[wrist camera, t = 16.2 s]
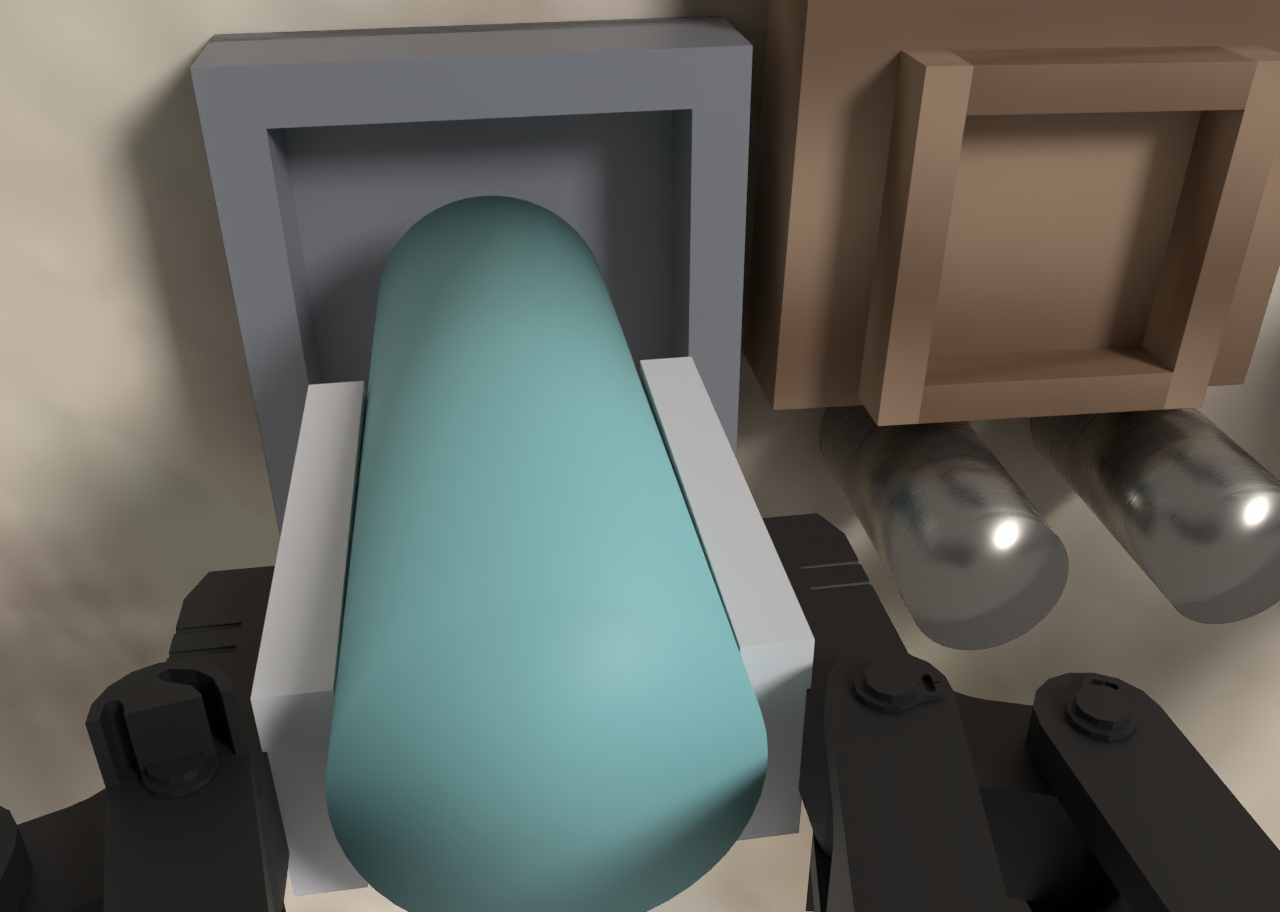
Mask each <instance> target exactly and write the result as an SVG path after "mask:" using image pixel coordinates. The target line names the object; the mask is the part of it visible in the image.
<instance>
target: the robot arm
mask: <svg viewBox="0 0 1280 912" xmlns="http://www.w3.org/2000/svg"><path fill="white" fill-rule="evenodd" d="M640 381H641V383H642V386H643V389H644V392H645V394H646V397H647V400H648V402H649V405H650V408H651V411H652V413H653V416H654V419H655V422H656V424H657V427H658V430H659V433H660V435H661V438H662V441H663V444H664V446H665V449H666V452H667V455H668V457H669V460H670V463H671V466H672V468H673V471H674V474H675V476H676V479H677V482H678V485H679V487H680V490H681V493H682V496H683V498H684V501H685V504H686V507H687V509H688V512H689V515H690V518H691V520H692V523H693V526H694V529H695V531H696V534H697V537H698V540H699V542H700V545H701V548H702V550H703V553H704V556H705V559H706V561H707V564H708V567H709V570H710V572H711V575H712V578H713V581H714V583H715V586H716V589H717V592H718V594H719V597H720V600H721V603H722V605H723V608H724V611H725V614H726V616H727V619H728V622H729V624H730V627H731V630H732V633H733V635H734V638H735V641H736V644H737V646H738V649H739V652H740V655H741V657H742V660H743V663H744V666H745V668H746V671H747V674H748V677H749V679H750V682H751V685H752V688H753V690H754V693H755V696H756V699H757V701H758V704H759V707H760V709H761V713H762V717H763V721H764V725H765V728H766V734H767V747H768V759H767V770H766V777H765V781H764V785H763V789H762V792H761V796H760V798H759V801H758V803H757V806H756V808H755V810H754V813H753V815H752V817H751V819H750V820H749V822H748V824H747V825H746V827H745V829H744V830H743V832H742V834H741V835H740V837H739V838H738V839H737V840H745V839H753V838H761V837H769V836H777V835H785V834H793V833H799V824H800V812H801V800H803V803H804V806H805V809H806V811H807V814H808V817H809V820H810V823H811V825H812V828H813V838H812V849H811V860H810V871H809V882H808V893H807V904H806V911H815V912H1280V850H1279V849H1278V848H1277V847H1276V846H1275V844H1274V843H1273V842H1272V841H1271V840H1270V838H1269V837H1268V836H1267V835H1266V833H1265V832H1264V831H1263V830H1262V829H1261V827H1260V826H1259V825H1258V824H1257V823H1256V821H1255V820H1254V819H1253V818H1252V817H1251V815H1250V814H1249V813H1248V812H1247V811H1246V809H1245V808H1244V807H1243V806H1242V804H1241V803H1240V802H1239V801H1238V800H1237V798H1236V797H1235V796H1234V795H1233V794H1232V792H1231V791H1230V790H1229V789H1228V788H1227V786H1226V785H1225V784H1224V783H1223V782H1222V780H1221V779H1220V778H1219V777H1218V776H1217V774H1216V773H1215V772H1214V771H1213V769H1212V768H1211V767H1210V766H1209V765H1208V763H1207V762H1206V761H1205V760H1204V759H1203V757H1202V756H1201V755H1200V754H1199V753H1198V751H1197V750H1196V749H1195V748H1194V747H1193V745H1192V744H1191V743H1190V742H1189V740H1188V739H1187V738H1186V737H1185V736H1184V734H1183V733H1182V732H1181V731H1180V730H1179V728H1178V727H1177V726H1176V725H1175V724H1174V722H1173V721H1172V720H1171V719H1170V718H1169V716H1168V715H1167V714H1166V713H1165V711H1164V710H1163V709H1162V708H1161V707H1160V706H1159V705H1158V704H1157V703H1156V702H1155V701H1154V700H1152V699H1151V698H1150V697H1149V696H1148V695H1147V694H1146V693H1144V692H1143V691H1142V690H1140V689H1138V688H1136V687H1134V686H1132V685H1130V684H1128V683H1126V682H1124V681H1122V680H1120V679H1117V678H1113V677H1108V676H1104V675H1100V674H1096V673H1067V674H1064V675H1060V676H1057V677H1054V678H1051V679H1048V680H1047V681H1046V682H1045V683H1044V684H1043V685H1042V686H1041V687H1040V688H1039V689H1038V690H1037V691H1036V695H1035V700H1034V704H1033V706H1031V705H1023V704H1015V703H1007V702H999V701H991V700H984V699H979V698H974V697H969V696H966V695H963V694H960V693H957V692H955V691H953V690H952V688H951V686H950V684H949V682H948V681H947V679H946V677H945V676H944V675H943V674H942V673H941V672H940V671H938V670H937V669H936V668H935V667H933V666H932V665H931V664H930V663H928V662H926V661H924V660H921V659H919V658H917V657H914V656H912V655H909V654H908V652H907V650H906V648H905V646H904V644H903V643H902V641H901V639H900V637H899V635H898V633H897V631H896V629H895V627H894V626H893V624H892V622H891V620H890V618H889V616H888V614H887V612H886V611H885V609H884V607H883V605H882V603H881V601H880V599H879V597H878V596H877V594H876V592H875V590H874V588H873V586H872V585H870V584H869V579H868V577H867V575H866V573H865V571H864V569H863V567H862V566H861V564H858V558H857V556H856V554H855V552H854V551H853V549H852V547H851V545H850V543H849V541H848V539H847V537H846V536H845V534H844V533H843V532H841V531H840V530H839V529H837V528H836V527H835V526H833V525H832V524H831V523H829V522H828V521H827V520H825V519H824V518H823V517H822V516H820V515H819V514H818V513H815V514H804V515H793V516H782V517H771V518H762V517H761V515H760V513H759V510H758V508H757V506H756V503H755V501H754V499H753V497H752V494H751V492H750V490H749V487H748V485H747V483H746V480H745V478H744V476H743V474H742V471H741V469H740V467H739V464H738V462H737V460H736V458H735V455H734V453H733V451H732V448H731V446H730V444H729V441H728V439H727V437H726V435H725V432H724V430H723V428H722V425H721V423H720V421H719V419H718V416H717V414H716V412H715V409H714V407H713V405H712V402H711V400H710V398H709V396H708V393H707V391H706V389H705V386H704V384H703V382H702V380H701V377H700V375H699V373H698V370H697V368H696V366H695V363H694V361H693V359H692V357H679V358H665V359H652V360H640ZM366 402H367V401H366V394H365V386H364V381H354V382H340V383H327V384H313V385H309V386H308V392H307V397H306V402H305V408H304V413H303V418H302V424H301V429H300V435H299V440H298V445H297V451H296V456H295V462H294V467H293V472H292V478H291V483H290V488H289V494H288V499H287V505H286V510H285V515H284V521H283V526H282V532H281V537H280V542H279V548H278V553H277V558H276V564H275V566H268V567H257V568H246V569H235V570H224V571H214V572H209V573H208V574H207V575H206V576H205V577H204V578H203V579H202V580H201V581H200V582H199V584H198V585H197V586H196V587H195V588H194V589H193V590H192V591H191V592H190V593H189V594H188V596H187V597H186V598H185V599H184V601H183V605H182V608H181V612H180V615H179V619H178V622H177V626H176V634H174V636H173V640H172V643H171V647H170V650H169V658H167V661H166V662H163V663H158V664H155V665H152V666H149V667H146V668H143V669H140V670H137V671H134V672H131V673H130V674H128V675H126V676H125V677H123V678H122V679H120V680H118V681H117V682H115V683H113V684H112V685H110V686H108V687H107V689H106V690H105V691H104V692H103V693H102V694H101V695H100V696H99V697H98V698H97V699H96V700H95V701H94V703H93V704H92V705H91V708H90V711H89V714H88V717H87V720H86V723H85V724H86V727H87V730H88V733H89V737H90V740H91V743H92V746H93V749H94V752H95V755H96V758H97V762H98V765H99V768H100V771H101V774H102V777H103V780H104V783H105V787H106V788H105V789H103V790H102V791H100V792H98V793H97V794H95V795H94V796H92V797H90V798H89V799H86V800H84V801H82V802H79V803H77V804H75V805H72V806H70V807H68V808H65V809H62V810H59V811H56V812H53V813H51V814H48V815H45V816H42V817H39V818H36V819H33V820H30V821H27V822H24V823H21V824H19V825H17V824H16V822H15V820H14V818H13V816H12V815H11V813H10V811H9V810H7V809H5V808H3V807H1V806H0V912H286V909H285V905H284V895H285V887H286V879H287V871H288V868H289V873H290V877H291V882H292V886H293V891H294V895H295V896H300V895H308V894H316V893H324V892H332V891H340V890H348V889H356V888H364V887H368V882H367V881H366V880H365V879H364V878H363V877H362V876H361V875H360V874H359V873H358V872H357V871H356V869H355V868H354V867H353V865H352V864H351V863H350V861H349V860H348V859H347V857H346V856H345V854H344V852H343V850H342V848H341V847H340V845H339V843H338V841H337V839H336V837H335V834H334V831H333V828H332V825H331V822H330V819H329V816H328V809H327V801H326V794H325V792H326V770H327V760H328V751H329V742H330V733H331V724H332V715H333V705H334V696H335V687H336V678H337V669H338V659H339V650H340V641H341V632H342V623H343V614H344V604H345V595H346V586H347V577H348V568H349V558H350V549H351V540H352V531H353V522H354V513H355V503H356V494H357V485H358V476H359V467H360V457H361V448H362V439H363V430H364V421H365V412H366Z"/></svg>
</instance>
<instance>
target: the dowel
mask: <svg viewBox="0 0 1280 912" xmlns="http://www.w3.org/2000/svg"><path fill="white" fill-rule="evenodd" d="M767 759H768V747H767V734H766V728H765V725H764V721H763V717H762V713H761V709H760V707H759V704H758V701H757V699H756V696H755V693H754V690H753V688H752V685H751V682H750V679H749V677H748V674H747V671H746V668H745V666H744V663H743V660H742V657H741V655H740V652H739V649H738V646H737V644H736V641H735V638H734V635H733V633H732V630H731V627H730V624H729V622H728V619H727V616H726V614H725V611H724V608H723V605H722V603H721V600H720V597H719V594H718V592H717V589H716V586H715V583H714V581H713V578H712V575H711V572H710V570H709V567H708V564H707V561H706V559H705V556H704V553H703V550H702V548H701V545H700V542H699V540H698V537H697V534H696V531H695V529H694V526H693V523H692V520H691V518H690V515H689V512H688V509H687V507H686V504H685V501H684V498H683V496H682V493H681V490H680V487H679V485H678V482H677V479H676V476H675V474H674V471H673V468H672V466H671V463H670V460H669V457H668V455H667V452H666V449H665V446H664V444H663V441H662V438H661V435H660V433H659V430H658V427H657V424H656V422H655V419H654V416H653V413H652V411H651V408H650V405H649V402H648V400H647V397H646V394H645V392H644V389H643V386H642V383H641V381H640V378H639V375H638V372H637V370H636V367H635V364H634V361H633V359H632V356H631V353H630V350H629V348H628V345H627V342H626V339H625V337H624V334H623V331H622V328H621V326H620V323H619V320H618V317H617V315H616V312H615V309H614V307H613V304H612V301H611V298H610V296H609V293H608V290H607V287H606V285H605V282H604V279H603V276H602V274H601V271H600V268H599V266H598V264H597V261H596V259H595V257H594V255H593V253H592V251H591V250H590V248H589V246H588V245H587V243H586V242H585V241H584V240H583V238H582V237H581V236H580V235H579V233H578V232H577V231H576V230H575V229H574V228H573V227H571V226H570V225H569V224H568V223H567V222H566V221H565V220H563V219H562V218H560V217H559V216H558V215H556V214H555V213H553V212H551V211H549V210H547V209H546V208H544V207H542V206H539V205H537V204H534V203H531V202H529V201H526V200H521V199H517V198H513V197H504V196H478V197H472V198H465V199H462V200H458V201H455V202H452V203H449V204H447V205H444V206H442V207H440V208H438V209H436V210H434V211H432V212H431V213H429V214H427V215H426V216H424V217H423V218H422V219H420V220H419V221H418V222H417V223H415V224H414V225H413V226H412V227H411V228H410V229H409V230H408V231H407V232H406V233H405V234H404V235H403V236H402V237H401V239H400V240H399V241H398V243H397V244H396V246H395V247H394V249H393V250H392V252H391V254H390V256H389V258H388V260H387V262H386V264H385V267H384V270H383V273H382V276H381V281H380V286H379V292H378V301H377V311H376V320H375V329H374V338H373V347H372V356H371V366H370V375H369V384H368V393H367V402H366V412H365V421H364V430H363V439H362V448H361V457H360V467H359V476H358V485H357V494H356V503H355V513H354V522H353V531H352V540H351V549H350V558H349V568H348V577H347V586H346V595H345V604H344V614H343V623H342V632H341V641H340V650H339V659H338V669H337V678H336V687H335V696H334V705H333V715H332V724H331V733H330V742H329V751H328V760H327V770H326V792H325V794H326V801H327V809H328V816H329V819H330V822H331V825H332V828H333V831H334V834H335V837H336V839H337V841H338V843H339V845H340V847H341V848H342V850H343V852H344V854H345V856H346V857H347V859H348V860H349V861H350V863H351V864H352V865H353V867H354V868H355V869H356V871H357V872H358V873H359V874H360V875H361V876H362V877H363V878H364V879H365V880H366V881H367V882H368V883H369V884H370V885H371V886H372V887H373V888H374V889H375V890H376V891H377V892H379V893H380V894H382V895H383V896H384V897H386V898H387V899H388V900H390V901H391V902H393V903H394V904H395V905H397V906H399V907H401V908H403V909H404V910H406V911H408V912H647V911H649V910H651V909H653V908H655V907H657V906H659V905H661V904H662V903H664V902H666V901H668V900H670V899H671V898H673V897H674V896H676V895H678V894H679V893H681V892H682V891H684V890H685V889H687V888H688V887H690V886H691V885H692V884H694V883H695V882H696V881H697V880H699V879H700V878H701V877H702V876H704V875H705V874H706V873H707V872H708V871H710V870H711V869H712V868H713V867H714V866H715V865H716V864H717V863H718V862H719V861H720V860H721V859H722V858H723V857H724V856H725V855H726V853H727V852H728V851H729V850H730V848H731V847H732V846H733V844H734V843H735V842H736V841H737V839H738V838H739V837H740V835H741V834H742V832H743V830H744V829H745V827H746V825H747V824H748V822H749V820H750V819H751V817H752V815H753V813H754V810H755V808H756V806H757V803H758V801H759V798H760V796H761V792H762V789H763V785H764V781H765V777H766V770H767Z"/></svg>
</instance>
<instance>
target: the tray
mask: <svg viewBox="0 0 1280 912" xmlns="http://www.w3.org/2000/svg"><path fill="white" fill-rule="evenodd" d="M752 52H753V45H752V44H751V43H750V42H749V41H748V40H747V39H746V38H745V37H743V36H742V35H741V34H740V33H739V32H738V31H737V30H736V29H735V28H734V27H733V26H732V25H731V24H730V23H729V22H728V21H727V20H726V19H724V18H723V17H722V16H705V17H678V18H651V19H624V20H597V21H570V22H543V23H516V24H489V25H462V26H435V27H408V28H381V29H354V30H327V31H300V32H273V33H246V34H219V35H214V36H213V37H212V38H211V40H210V41H209V42H208V44H207V45H206V47H205V48H204V49H203V51H202V52H201V53H200V55H199V56H198V57H197V59H196V60H195V62H194V63H193V64H192V66H191V67H190V72H191V77H192V82H193V87H194V92H195V97H196V103H197V108H198V113H199V118H200V123H201V129H202V134H203V139H204V144H205V149H206V154H207V160H208V165H209V170H210V175H211V180H212V185H213V191H214V196H215V201H216V206H217V211H218V217H219V222H220V227H221V232H222V237H223V242H224V248H225V253H226V258H227V263H228V268H229V274H230V279H231V284H232V289H233V294H234V299H235V305H236V310H237V315H238V320H239V325H240V331H241V336H242V341H243V346H244V351H245V356H246V362H247V367H248V372H249V377H250V382H251V388H252V393H253V398H254V403H255V408H256V413H257V419H258V424H259V429H260V434H261V439H262V444H263V450H264V455H265V460H266V465H267V470H268V476H269V481H270V486H271V491H272V496H273V501H274V507H275V512H276V517H277V522H278V527H279V533H280V537H281V532H282V526H283V521H284V515H285V510H286V505H287V499H288V494H289V488H290V483H291V478H292V472H293V467H294V462H295V456H296V451H297V445H298V440H299V435H300V429H301V424H302V418H303V413H304V408H305V402H306V397H307V392H308V386H309V385H313V384H327V383H340V382H354V381H364V386H365V394H366V401H367V393H368V384H369V375H370V366H371V356H372V347H373V338H374V329H375V320H376V311H377V301H378V292H379V286H380V281H381V276H382V273H383V270H384V267H385V264H386V262H387V260H388V258H389V256H390V254H391V252H392V250H393V249H394V247H395V246H396V244H397V243H398V241H399V240H400V239H401V237H402V236H403V235H404V234H405V233H406V232H407V231H408V230H409V229H410V228H411V227H412V226H413V225H414V224H415V223H417V222H418V221H419V220H420V219H422V218H423V217H424V216H426V215H427V214H429V213H431V212H432V211H434V210H436V209H438V208H440V207H442V206H444V205H447V204H449V203H452V202H455V201H458V200H462V199H465V198H472V197H478V196H504V197H513V198H517V199H521V200H526V201H529V202H531V203H534V204H537V205H539V206H542V207H544V208H546V209H547V210H549V211H551V212H553V213H555V214H556V215H558V216H559V217H560V218H562V219H563V220H565V221H566V222H567V223H568V224H569V225H570V226H571V227H573V228H574V229H575V230H576V231H577V232H578V233H579V235H580V236H581V237H582V238H583V240H584V241H585V242H586V243H587V245H588V246H589V248H590V250H591V251H592V253H593V255H594V257H595V259H596V261H597V264H598V266H599V268H600V271H601V274H602V276H603V279H604V282H605V285H606V287H607V290H608V293H609V296H610V298H611V301H612V304H613V307H614V309H615V312H616V315H617V317H618V320H619V323H620V326H621V328H622V331H623V334H624V337H625V339H626V342H627V345H628V348H629V350H630V353H631V356H632V359H633V361H634V364H635V367H636V370H637V372H638V375H639V378H640V360H652V359H665V358H679V357H692V359H693V361H694V363H695V366H696V368H697V370H698V373H699V375H700V377H701V380H702V382H703V384H704V386H705V389H706V391H707V393H708V396H709V398H710V400H711V402H712V405H713V407H714V409H715V412H716V414H717V416H718V419H719V421H720V423H721V425H722V428H723V430H724V432H725V435H726V437H727V439H728V441H729V444H730V446H731V448H732V451H733V453H734V455H735V458H736V456H737V430H738V405H739V380H740V355H741V330H742V304H743V279H744V254H745V229H746V203H747V178H748V153H749V128H750V102H751V77H752Z"/></svg>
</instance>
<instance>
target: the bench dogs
mask: <svg viewBox="0 0 1280 912" xmlns="http://www.w3.org/2000/svg"><path fill="white" fill-rule="evenodd" d="M1031 430H1032V435H1033V439H1034V441H1035V443H1036V445H1037V447H1038V449H1039V450H1040V451H1041V452H1042V453H1043V454H1044V456H1045V457H1046V458H1047V459H1048V460H1049V461H1050V463H1051V464H1052V465H1053V466H1054V467H1055V468H1056V470H1057V471H1058V472H1059V473H1060V474H1061V475H1062V477H1063V478H1064V479H1065V480H1066V481H1067V482H1068V484H1069V485H1070V486H1071V487H1072V488H1073V489H1074V491H1075V492H1076V493H1077V494H1078V495H1079V496H1080V498H1081V499H1082V500H1083V501H1084V502H1085V503H1086V505H1087V506H1088V507H1089V508H1090V509H1091V510H1092V512H1093V513H1094V514H1095V515H1096V516H1097V517H1098V519H1099V520H1100V521H1101V522H1102V523H1103V524H1104V526H1105V527H1106V528H1107V529H1108V530H1109V531H1110V533H1111V534H1112V535H1113V536H1114V537H1115V538H1116V539H1117V541H1118V542H1119V543H1120V544H1121V545H1122V546H1123V548H1124V549H1125V550H1126V551H1127V552H1128V553H1129V555H1130V556H1131V557H1132V558H1133V559H1134V560H1135V562H1136V563H1137V564H1138V565H1139V566H1140V567H1141V569H1142V570H1143V571H1144V572H1145V573H1146V574H1147V576H1148V577H1149V578H1150V579H1151V580H1152V581H1153V583H1154V584H1155V585H1156V586H1157V587H1158V588H1159V590H1160V591H1161V592H1162V593H1163V594H1164V595H1165V597H1166V598H1167V599H1168V600H1169V601H1170V602H1171V604H1172V605H1173V606H1174V607H1175V608H1176V609H1177V611H1179V612H1180V613H1181V614H1182V615H1183V616H1185V617H1187V618H1189V619H1191V620H1194V621H1197V622H1201V623H1207V624H1224V623H1230V622H1235V621H1239V620H1243V619H1246V618H1248V617H1251V616H1254V615H1256V614H1258V613H1260V612H1262V611H1264V610H1266V609H1267V608H1269V607H1271V606H1272V605H1274V604H1275V603H1277V602H1278V601H1280V481H1279V480H1278V479H1276V478H1275V477H1274V476H1273V475H1272V474H1271V473H1270V472H1268V471H1267V470H1266V469H1265V468H1264V467H1263V466H1262V465H1260V464H1259V463H1258V462H1257V461H1256V460H1255V459H1253V458H1252V457H1251V456H1250V455H1249V454H1248V453H1247V452H1245V451H1244V450H1243V449H1242V448H1241V447H1240V446H1239V445H1237V444H1236V443H1235V442H1234V441H1233V440H1232V439H1231V438H1229V437H1228V436H1227V435H1226V434H1225V433H1224V432H1223V431H1221V430H1220V429H1219V428H1218V427H1217V426H1216V425H1215V424H1213V423H1212V422H1211V421H1210V420H1209V419H1208V418H1207V417H1205V416H1204V415H1203V414H1202V413H1201V412H1200V411H1198V410H1197V409H1196V408H1179V409H1162V410H1145V411H1127V412H1110V413H1093V414H1076V415H1059V416H1042V417H1032V419H1031ZM820 443H821V449H822V452H823V455H824V457H825V459H826V461H827V462H828V464H829V466H830V468H831V470H832V472H833V473H834V475H835V477H836V479H837V481H838V482H839V484H840V486H841V488H842V490H843V492H844V493H845V495H846V497H847V499H848V501H849V502H850V504H851V506H852V508H853V510H854V512H855V513H856V515H857V517H858V519H859V521H860V522H861V524H862V526H863V528H864V530H865V532H866V533H867V535H868V537H869V539H870V541H871V542H872V544H873V546H874V548H875V550H876V552H877V553H878V555H879V557H880V559H881V561H882V562H883V564H884V566H885V568H886V570H887V572H888V573H889V575H890V577H891V579H892V581H893V582H894V584H895V586H896V588H897V590H898V592H899V593H900V595H901V597H902V599H903V601H904V602H905V604H906V606H907V608H908V610H909V612H910V613H911V615H912V617H913V619H914V621H915V622H916V624H917V626H918V627H919V629H920V630H921V631H922V632H923V633H924V634H925V635H926V636H927V637H928V638H930V639H931V640H933V641H934V642H936V643H938V644H940V645H942V646H946V647H949V648H953V649H959V650H979V649H985V648H990V647H994V646H998V645H1001V644H1004V643H1006V642H1009V641H1011V640H1013V639H1015V638H1017V637H1019V636H1021V635H1022V634H1024V633H1026V632H1027V631H1029V630H1030V629H1032V628H1033V627H1034V626H1036V625H1037V624H1038V623H1039V622H1040V621H1041V620H1042V619H1043V618H1044V617H1045V616H1046V615H1047V614H1048V613H1049V612H1050V611H1051V610H1052V608H1053V607H1054V606H1055V604H1056V603H1057V601H1058V599H1059V598H1060V596H1061V594H1062V592H1063V589H1064V587H1065V584H1066V580H1067V576H1068V558H1067V553H1066V550H1065V547H1064V545H1063V544H1062V542H1061V540H1060V539H1059V537H1058V536H1057V535H1056V534H1055V532H1054V531H1053V530H1052V529H1051V527H1050V526H1049V525H1048V523H1047V522H1046V521H1045V520H1044V518H1043V517H1042V516H1041V515H1040V513H1039V512H1038V511H1037V509H1036V508H1035V507H1034V506H1033V504H1032V503H1031V502H1030V501H1029V499H1028V498H1027V497H1026V496H1025V494H1024V493H1023V492H1022V490H1021V489H1020V488H1019V487H1018V485H1017V484H1016V483H1015V482H1014V480H1013V479H1012V478H1011V476H1010V475H1009V474H1008V473H1007V471H1006V470H1005V469H1004V468H1003V466H1002V465H1001V464H1000V463H999V461H998V460H997V459H996V457H995V456H994V455H993V454H992V452H991V451H990V450H989V449H988V447H987V446H986V445H985V443H984V442H983V441H982V440H981V438H980V437H979V436H978V435H977V433H976V432H975V431H974V430H973V428H972V427H971V426H970V424H969V423H968V422H967V421H956V422H939V423H921V424H904V425H887V426H877V425H876V423H875V422H874V420H873V419H872V417H871V416H870V414H869V412H868V411H867V409H866V408H865V406H864V405H859V406H841V407H828V408H827V410H826V412H825V415H824V417H823V420H822V424H821V429H820Z"/></svg>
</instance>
